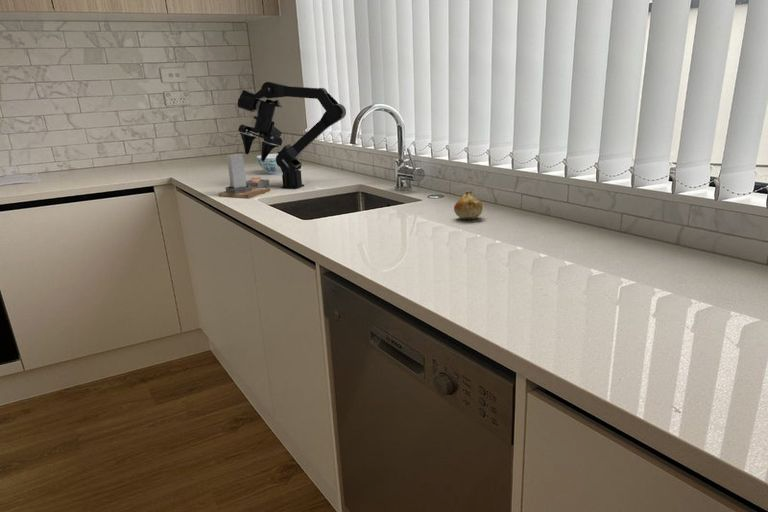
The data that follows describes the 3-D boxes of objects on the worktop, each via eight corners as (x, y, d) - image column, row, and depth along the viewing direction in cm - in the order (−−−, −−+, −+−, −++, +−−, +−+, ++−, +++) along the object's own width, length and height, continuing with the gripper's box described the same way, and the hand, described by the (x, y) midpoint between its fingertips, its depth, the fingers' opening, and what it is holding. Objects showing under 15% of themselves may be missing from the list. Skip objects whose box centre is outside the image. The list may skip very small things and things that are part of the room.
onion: (448, 218, 162) (448, 190, 160) (472, 214, 165) (473, 187, 163) (462, 223, 155) (462, 194, 153) (487, 220, 158) (488, 191, 156)
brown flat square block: (270, 191, 210) (269, 184, 209) (248, 198, 199) (247, 190, 198) (242, 189, 216) (241, 182, 215) (219, 196, 204) (218, 188, 204)
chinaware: (276, 169, 261) (274, 152, 259) (299, 172, 253) (298, 154, 251) (251, 174, 250) (249, 157, 248) (275, 177, 241) (273, 158, 239)
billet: (242, 189, 209) (239, 153, 205) (246, 191, 206) (242, 154, 202) (231, 191, 207) (226, 154, 203) (234, 192, 203) (230, 156, 200)
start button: (263, 183, 220) (263, 177, 219) (257, 185, 216) (256, 179, 216) (255, 183, 222) (254, 177, 221) (248, 185, 218) (248, 178, 217)
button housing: (269, 186, 221) (268, 179, 220) (258, 189, 215) (257, 182, 214) (254, 185, 224) (254, 179, 223) (243, 188, 218) (242, 182, 217)
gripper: (297, 126, 212) (286, 167, 215) (264, 114, 222) (255, 153, 225) (275, 120, 202) (264, 163, 206) (242, 108, 212) (232, 149, 216)
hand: (254, 157), depth 213 cm, fingers open, 9 cm apart
